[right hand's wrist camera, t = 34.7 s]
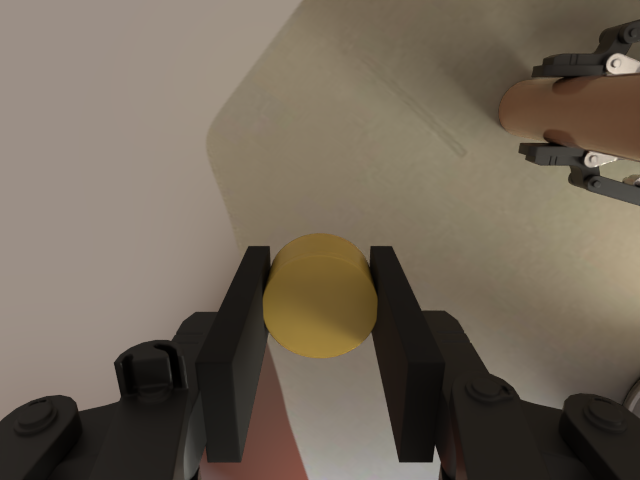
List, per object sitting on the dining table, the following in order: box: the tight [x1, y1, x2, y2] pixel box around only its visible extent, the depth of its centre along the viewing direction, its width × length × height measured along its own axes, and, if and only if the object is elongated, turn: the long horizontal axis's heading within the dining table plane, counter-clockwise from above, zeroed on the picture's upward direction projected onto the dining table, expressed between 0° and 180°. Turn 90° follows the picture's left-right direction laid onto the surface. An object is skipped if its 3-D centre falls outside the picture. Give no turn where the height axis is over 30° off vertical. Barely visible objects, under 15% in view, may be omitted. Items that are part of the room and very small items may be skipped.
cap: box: [263, 233, 378, 358], centre depth 14 cm, size 4×4×2 cm
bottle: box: [499, 72, 640, 162], centre depth 23 cm, size 5×5×24 cm
